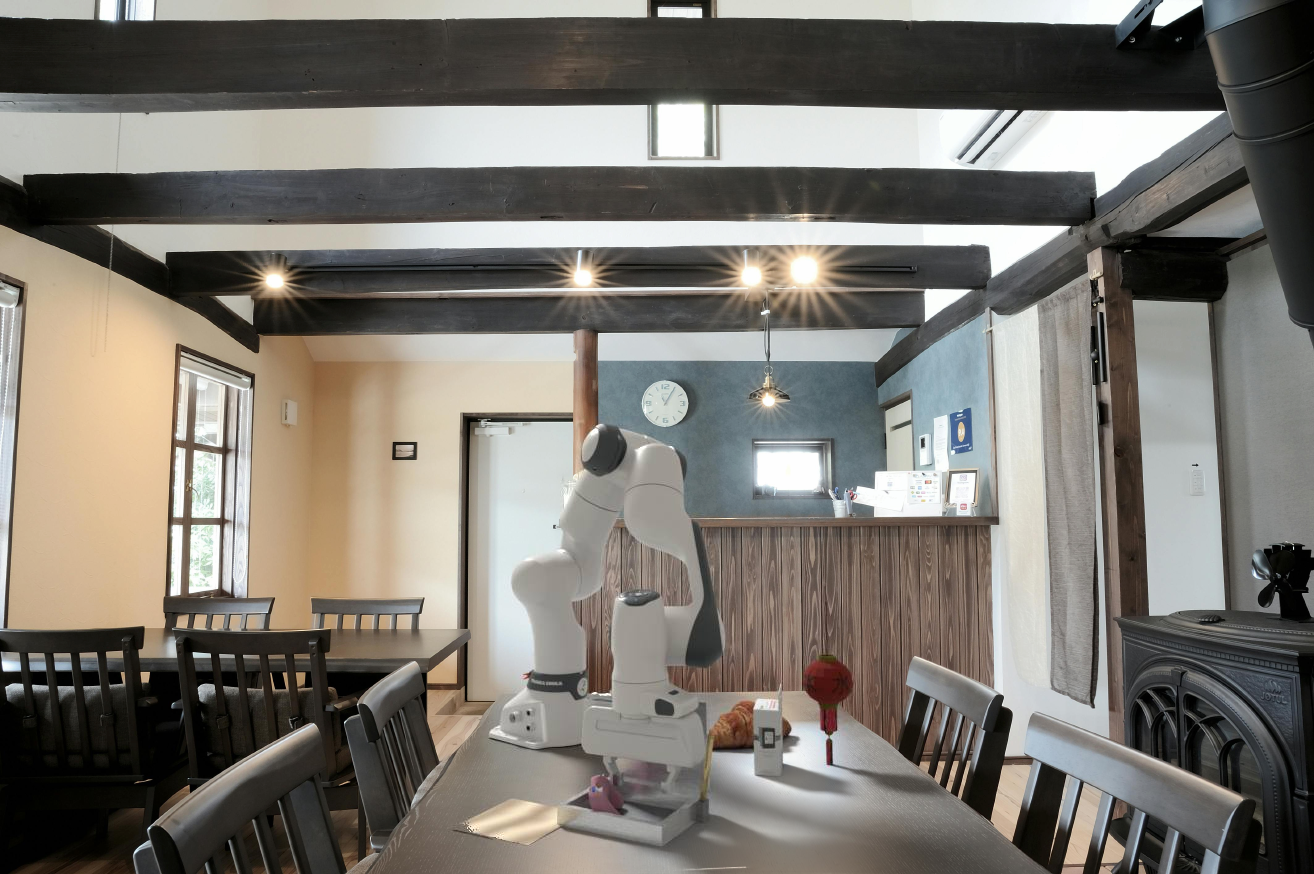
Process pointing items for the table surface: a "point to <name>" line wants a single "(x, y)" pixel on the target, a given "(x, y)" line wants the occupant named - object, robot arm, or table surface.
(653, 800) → the case
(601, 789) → the pink rounded figure
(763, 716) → the ink box
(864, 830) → the table surface
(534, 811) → the pad
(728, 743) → the pastry
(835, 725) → the lantern
